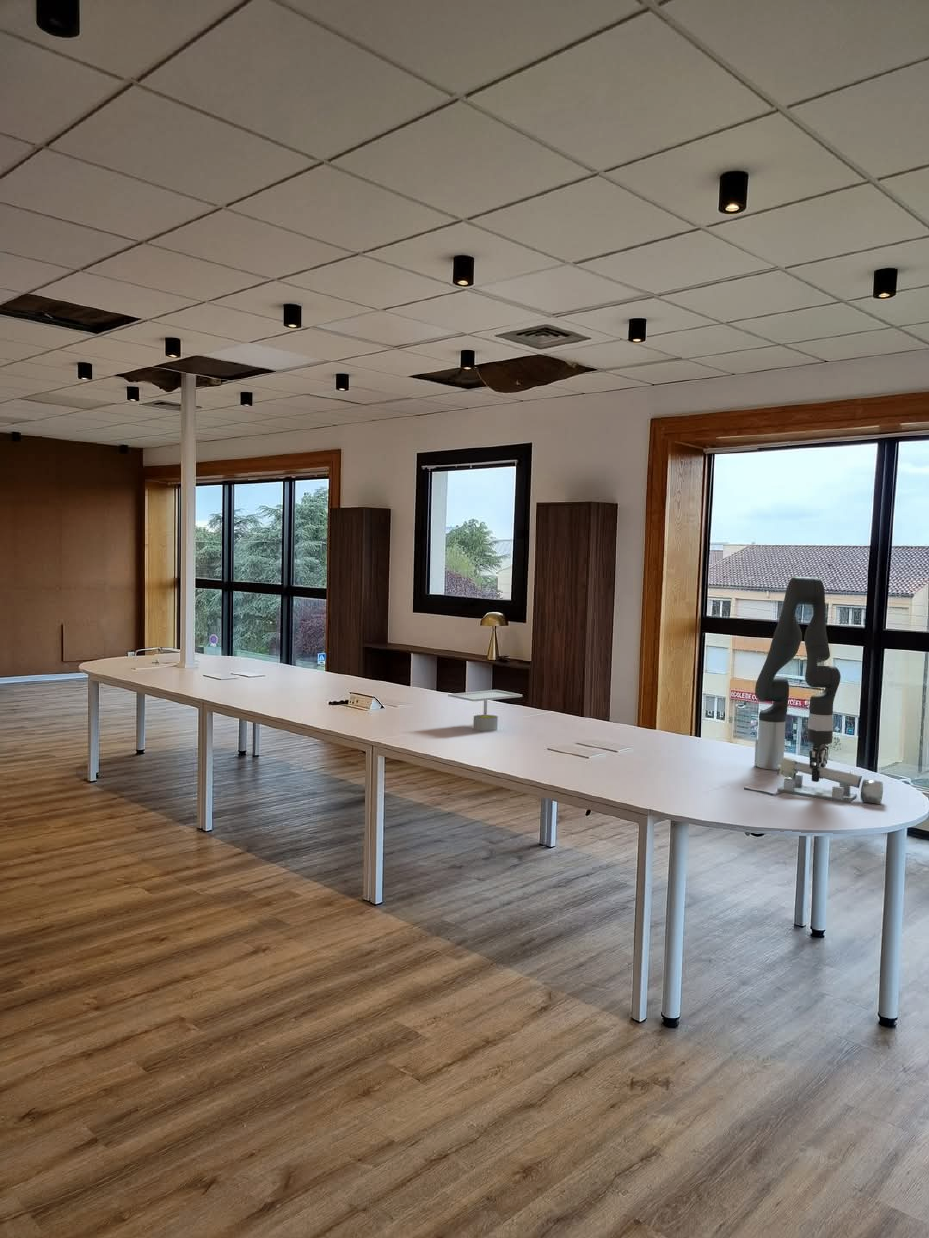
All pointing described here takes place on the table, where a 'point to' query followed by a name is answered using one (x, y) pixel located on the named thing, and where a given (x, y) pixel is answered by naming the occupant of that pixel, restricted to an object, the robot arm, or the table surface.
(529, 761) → the table surface
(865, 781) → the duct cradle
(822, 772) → the white handheld massager
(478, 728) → the grey flat rectangular-topped stand
